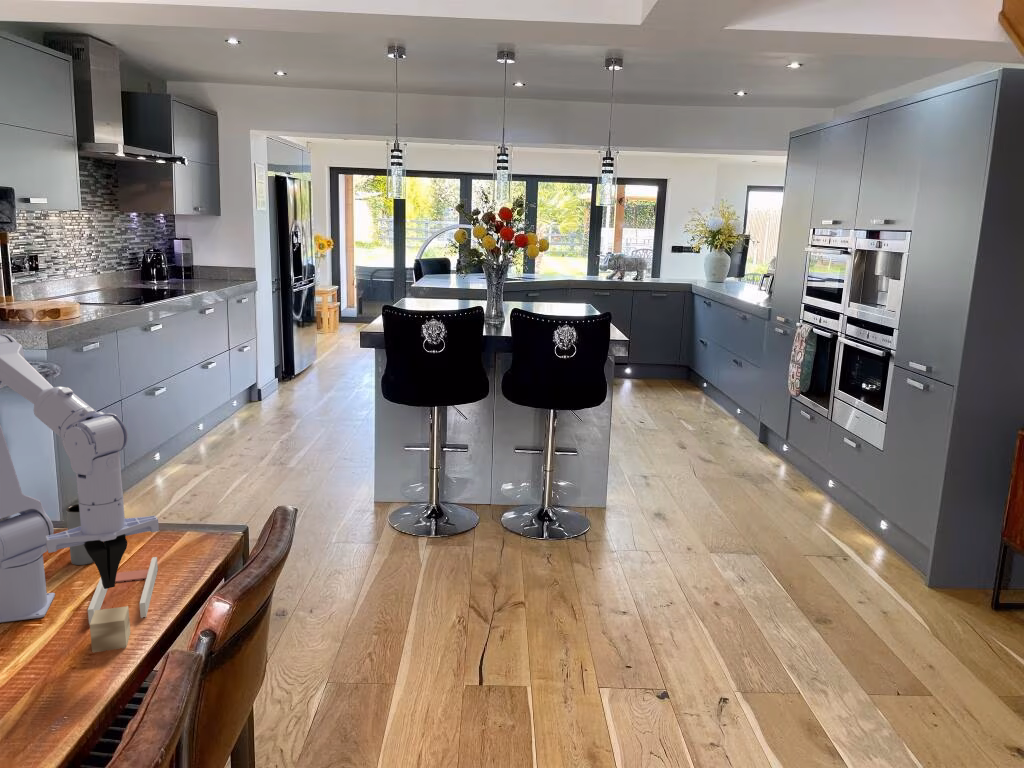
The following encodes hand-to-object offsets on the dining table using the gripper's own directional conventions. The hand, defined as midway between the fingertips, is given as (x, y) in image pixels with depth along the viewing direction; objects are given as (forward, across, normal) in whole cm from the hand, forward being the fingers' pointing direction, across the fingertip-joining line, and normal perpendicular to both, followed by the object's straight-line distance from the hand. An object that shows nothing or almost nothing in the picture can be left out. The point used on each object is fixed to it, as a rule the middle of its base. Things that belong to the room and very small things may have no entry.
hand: (108, 585), depth 114 cm
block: (+9, 0, -1) cm, 9 cm away
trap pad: (+8, +7, +20) cm, 23 cm away
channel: (+8, +4, +14) cm, 16 cm away
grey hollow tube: (+9, +1, +32) cm, 34 cm away
